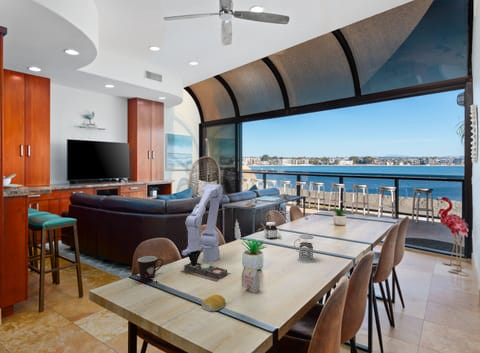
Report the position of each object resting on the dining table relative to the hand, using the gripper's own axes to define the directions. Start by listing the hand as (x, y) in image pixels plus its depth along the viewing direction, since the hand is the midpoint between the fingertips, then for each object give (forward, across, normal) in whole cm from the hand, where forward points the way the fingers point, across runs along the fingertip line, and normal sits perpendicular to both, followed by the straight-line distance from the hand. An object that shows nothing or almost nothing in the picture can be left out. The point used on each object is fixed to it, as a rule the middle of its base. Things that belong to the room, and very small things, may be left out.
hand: (193, 265), depth 147 cm
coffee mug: (+4, +18, -11) cm, 21 cm away
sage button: (0, 0, +7) cm, 7 cm away
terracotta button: (+2, 0, +15) cm, 15 cm away
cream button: (+2, 0, 0) cm, 2 cm away
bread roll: (+4, +22, +31) cm, 38 cm away
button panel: (+3, 0, +8) cm, 8 cm away
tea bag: (+4, +2, +35) cm, 35 cm away
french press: (+4, -49, +40) cm, 63 cm away
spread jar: (+4, -86, +2) cm, 86 cm away
